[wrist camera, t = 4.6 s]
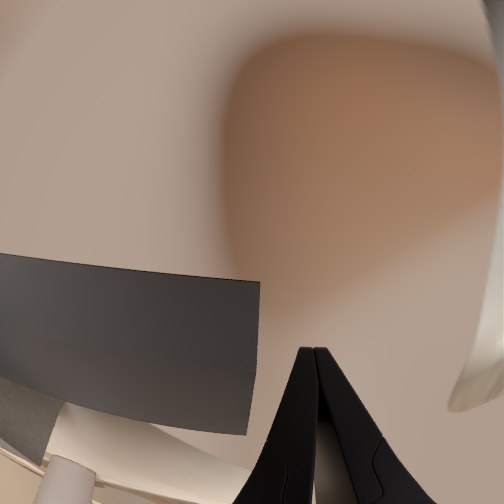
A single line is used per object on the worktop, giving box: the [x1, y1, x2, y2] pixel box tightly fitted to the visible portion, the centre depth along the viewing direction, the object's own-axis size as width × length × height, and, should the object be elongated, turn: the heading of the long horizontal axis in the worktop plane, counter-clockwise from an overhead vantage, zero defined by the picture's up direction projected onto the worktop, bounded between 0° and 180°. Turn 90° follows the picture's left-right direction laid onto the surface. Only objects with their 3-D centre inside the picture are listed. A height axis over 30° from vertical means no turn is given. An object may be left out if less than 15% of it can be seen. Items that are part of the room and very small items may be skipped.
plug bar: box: [0, 253, 260, 435], centre depth 9 cm, size 13×4×3 cm, turn 86°
